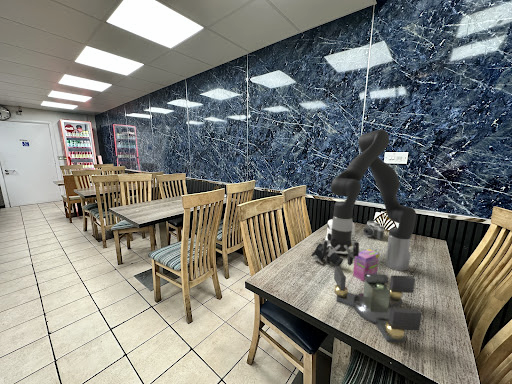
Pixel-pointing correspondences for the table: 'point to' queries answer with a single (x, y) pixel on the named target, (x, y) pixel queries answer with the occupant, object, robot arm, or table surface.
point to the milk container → (329, 231)
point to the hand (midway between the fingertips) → (338, 264)
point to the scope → (319, 256)
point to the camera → (374, 230)
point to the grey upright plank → (340, 282)
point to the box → (365, 264)
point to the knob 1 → (401, 286)
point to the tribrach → (374, 302)
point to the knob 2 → (402, 322)
